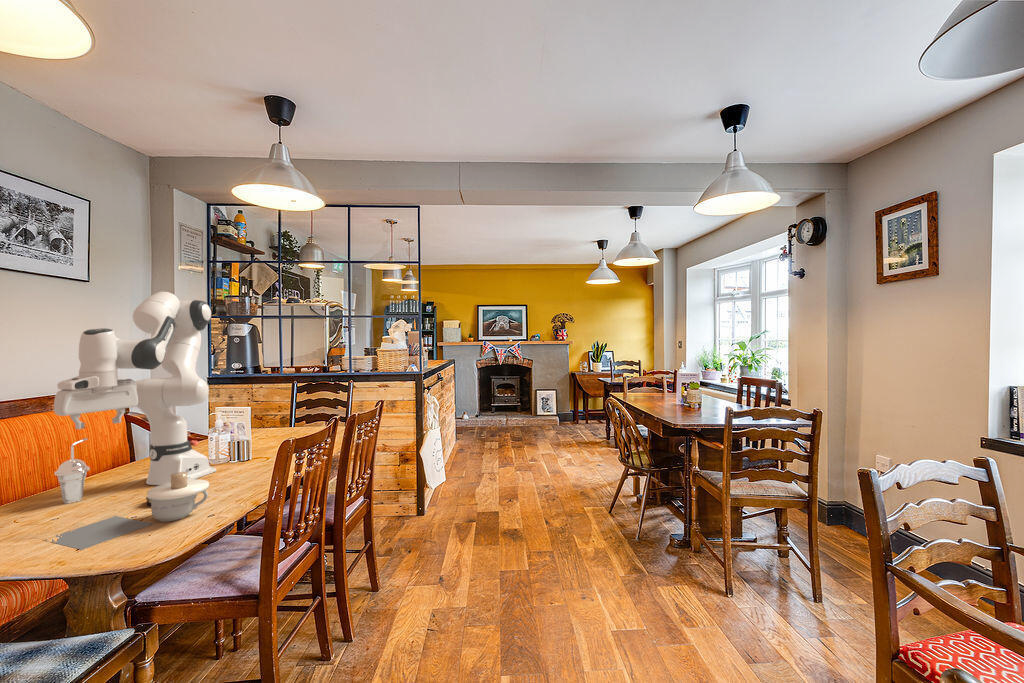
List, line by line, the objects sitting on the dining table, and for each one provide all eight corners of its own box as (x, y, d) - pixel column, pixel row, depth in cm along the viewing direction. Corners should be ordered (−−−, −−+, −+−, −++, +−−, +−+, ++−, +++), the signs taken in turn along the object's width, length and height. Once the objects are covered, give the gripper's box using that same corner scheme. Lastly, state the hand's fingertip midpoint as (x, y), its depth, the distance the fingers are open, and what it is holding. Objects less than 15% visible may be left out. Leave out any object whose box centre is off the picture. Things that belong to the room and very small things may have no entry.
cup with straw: (49, 503, 148) (49, 442, 148) (84, 494, 156) (84, 437, 156) (61, 507, 144) (60, 445, 144) (97, 498, 153) (96, 439, 152)
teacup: (143, 527, 129) (143, 499, 129) (161, 513, 140) (161, 487, 140) (199, 521, 133) (199, 494, 133) (212, 508, 143) (212, 483, 143)
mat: (115, 517, 136) (115, 516, 136) (153, 525, 131) (153, 523, 131) (41, 541, 120) (41, 539, 120) (81, 551, 115) (81, 549, 115)
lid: (186, 481, 146) (185, 465, 146) (220, 485, 141) (220, 469, 141) (134, 496, 132) (134, 478, 132) (171, 502, 127) (171, 484, 127)
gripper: (129, 378, 150) (130, 419, 150) (50, 383, 131) (50, 431, 131) (142, 378, 148) (143, 420, 148) (63, 384, 129) (64, 433, 129)
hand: (99, 425), depth 139 cm, fingers open, 8 cm apart
